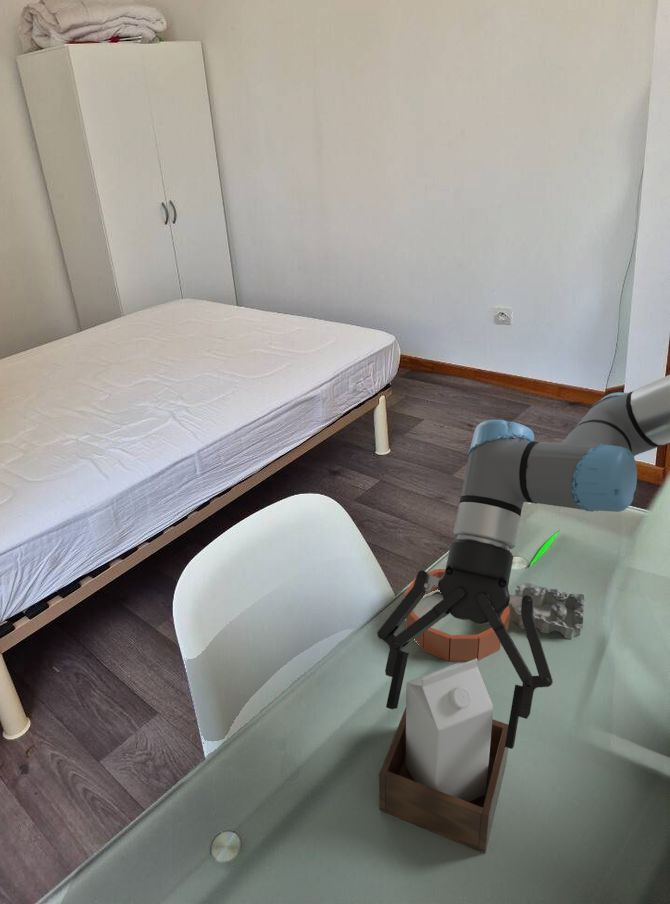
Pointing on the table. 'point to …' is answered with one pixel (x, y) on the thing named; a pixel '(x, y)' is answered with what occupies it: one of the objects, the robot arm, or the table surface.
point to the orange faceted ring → (457, 637)
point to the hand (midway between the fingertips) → (448, 727)
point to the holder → (442, 794)
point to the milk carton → (449, 730)
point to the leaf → (544, 548)
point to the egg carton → (553, 610)
